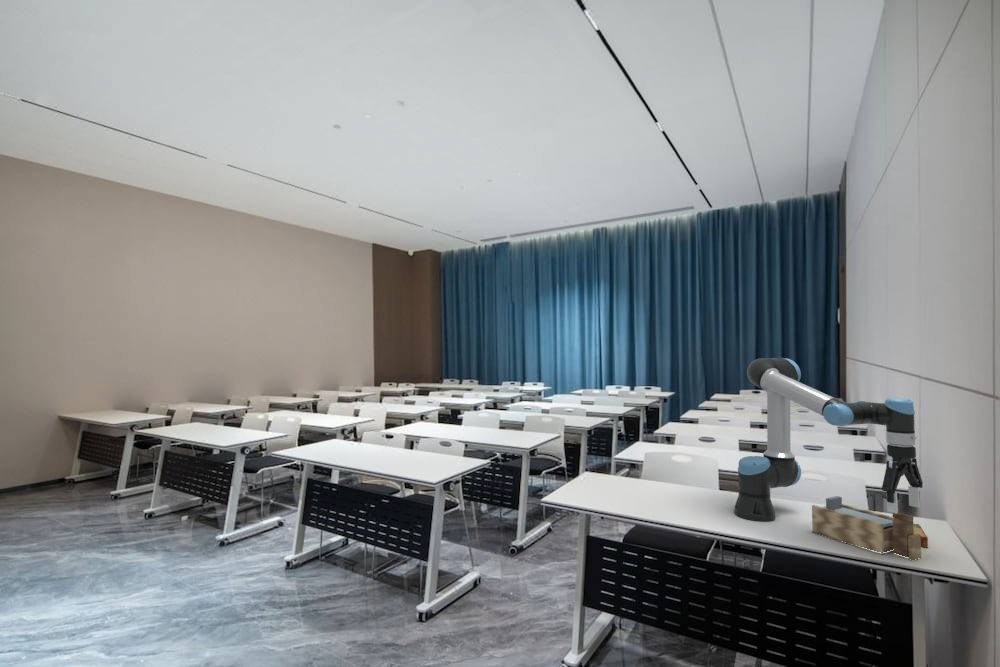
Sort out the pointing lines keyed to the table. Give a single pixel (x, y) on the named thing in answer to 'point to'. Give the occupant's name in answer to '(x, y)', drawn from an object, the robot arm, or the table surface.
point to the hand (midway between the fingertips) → (903, 509)
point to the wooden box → (860, 530)
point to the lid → (836, 505)
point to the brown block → (902, 532)
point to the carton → (924, 538)
